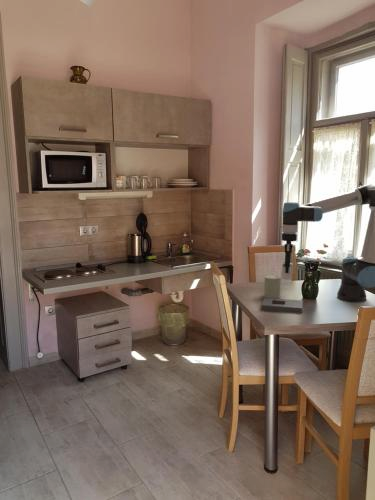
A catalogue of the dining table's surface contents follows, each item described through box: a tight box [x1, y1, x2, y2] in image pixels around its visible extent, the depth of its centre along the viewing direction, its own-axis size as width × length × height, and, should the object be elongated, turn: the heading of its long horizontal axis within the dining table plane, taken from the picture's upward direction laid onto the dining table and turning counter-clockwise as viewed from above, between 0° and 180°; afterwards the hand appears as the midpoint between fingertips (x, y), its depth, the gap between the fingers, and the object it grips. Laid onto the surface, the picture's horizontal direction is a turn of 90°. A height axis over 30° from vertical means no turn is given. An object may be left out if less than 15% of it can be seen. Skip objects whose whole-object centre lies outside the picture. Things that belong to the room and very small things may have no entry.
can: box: [263, 274, 282, 299], centre depth 227 cm, size 9×9×12 cm
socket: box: [260, 297, 304, 314], centre depth 207 cm, size 20×14×2 cm
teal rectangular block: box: [281, 261, 294, 281], centre depth 204 cm, size 5×4×8 cm
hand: (286, 277), depth 205 cm, fingers closed on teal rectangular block, 4 cm apart
